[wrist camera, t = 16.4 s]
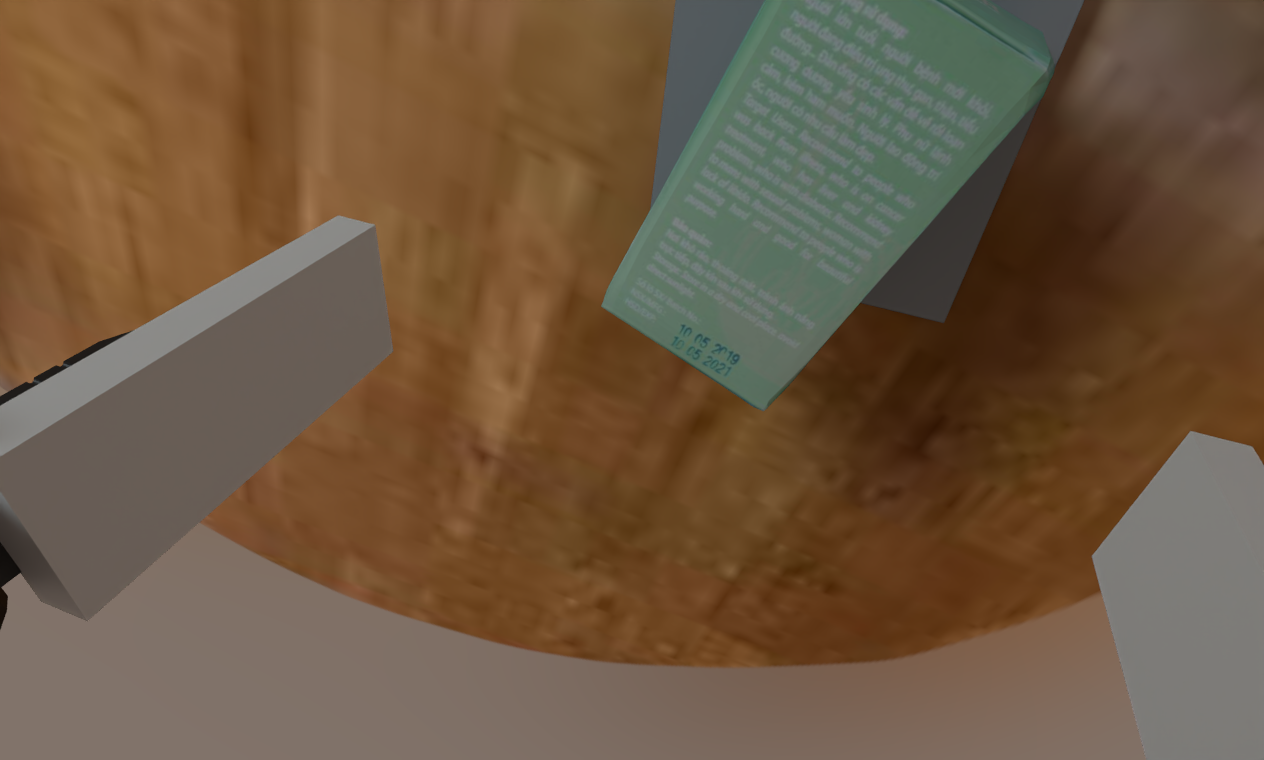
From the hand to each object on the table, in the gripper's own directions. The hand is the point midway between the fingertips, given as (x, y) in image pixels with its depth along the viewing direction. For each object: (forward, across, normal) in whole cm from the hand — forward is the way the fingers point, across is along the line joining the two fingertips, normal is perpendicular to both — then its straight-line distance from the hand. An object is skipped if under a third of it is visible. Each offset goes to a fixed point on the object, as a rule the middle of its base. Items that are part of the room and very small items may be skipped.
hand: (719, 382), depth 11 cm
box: (+18, 0, -1) cm, 18 cm away
